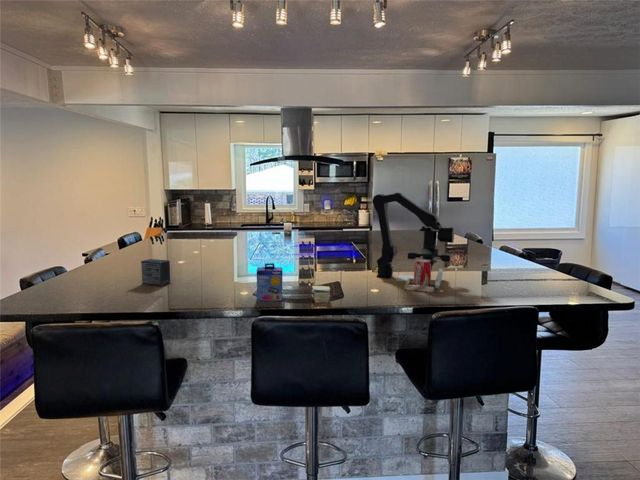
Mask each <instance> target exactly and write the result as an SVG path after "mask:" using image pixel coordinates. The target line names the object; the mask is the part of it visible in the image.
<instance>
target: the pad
mask: <svg viewBox="0 0 640 480" xmlns="http://www.w3.org/2000/svg"><path fill="white" fill-rule="evenodd" d="M408 278H414V275H409V274H398V276H397V277H396V278H395V281H397V282H405V281H407V280H408Z"/></svg>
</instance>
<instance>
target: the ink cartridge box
mask: <svg viewBox="0 0 640 480" xmlns="http://www.w3.org/2000/svg"><path fill="white" fill-rule="evenodd" d="M282 300H283V267H282V266H281V267H280V266H275V263H274V262H272V263H270V262H269V263H264V267H263V266H261V267H257V268H256V301H257V302H259V301H260V302H261V301H263V302H265V301H267V302H269V301H270V302H272V301H273V302H274V301H276V302H277V301H282Z"/></svg>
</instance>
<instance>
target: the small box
mask: <svg viewBox="0 0 640 480" xmlns="http://www.w3.org/2000/svg"><path fill="white" fill-rule="evenodd" d="M170 262H171V261H170V260H168V259H167V260H166V259H157V258H155V259H154V258H148V259H145V260H140V263H141V264H140V265H141V284H142V285H146V286H154V287H155V286H156V287H163V286H166V285H169V284H171V269H170V268H171V265H170Z"/></svg>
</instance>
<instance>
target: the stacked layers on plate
mask: <svg viewBox="0 0 640 480" xmlns="http://www.w3.org/2000/svg"><path fill="white" fill-rule="evenodd" d="M311 288H312V289H311V292H312V294H311V297H312V298H313V299H314V303H317V304H319V303H330V298H331V296H330V294H331V287H330V286H325V285H324V286H323V285H313V286H311Z"/></svg>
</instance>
